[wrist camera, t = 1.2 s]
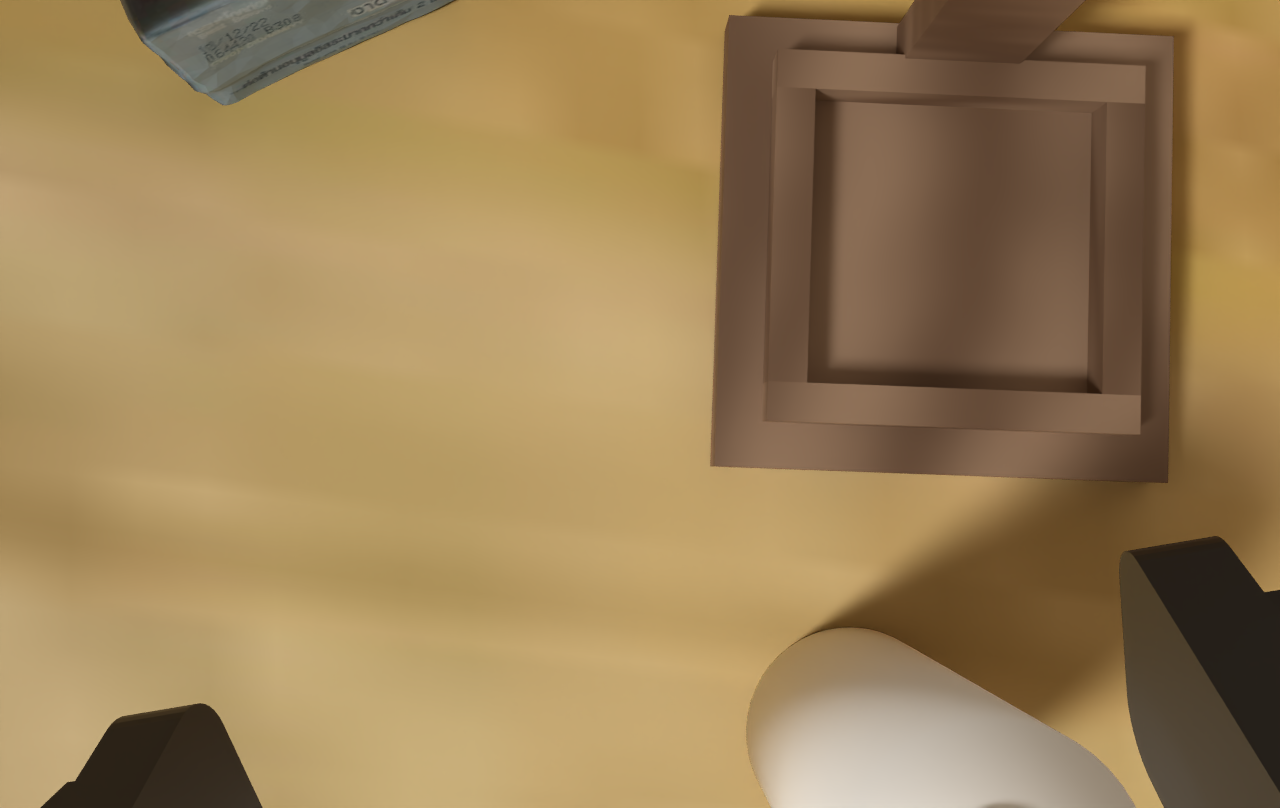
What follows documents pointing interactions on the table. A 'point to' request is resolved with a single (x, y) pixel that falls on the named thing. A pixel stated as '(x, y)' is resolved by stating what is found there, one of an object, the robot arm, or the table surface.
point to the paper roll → (905, 735)
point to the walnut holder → (945, 245)
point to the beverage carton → (259, 36)
